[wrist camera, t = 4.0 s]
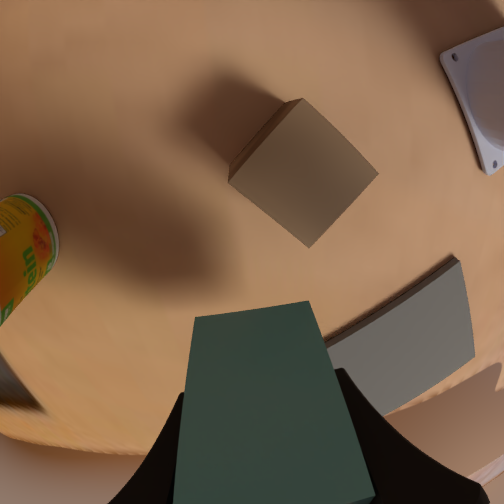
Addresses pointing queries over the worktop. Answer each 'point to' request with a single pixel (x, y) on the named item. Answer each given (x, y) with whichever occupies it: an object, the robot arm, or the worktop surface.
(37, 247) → the supplement bottle
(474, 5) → the worktop surface
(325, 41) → the worktop surface
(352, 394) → the robot arm
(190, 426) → the teal block
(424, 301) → the slate mat
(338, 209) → the walnut block
